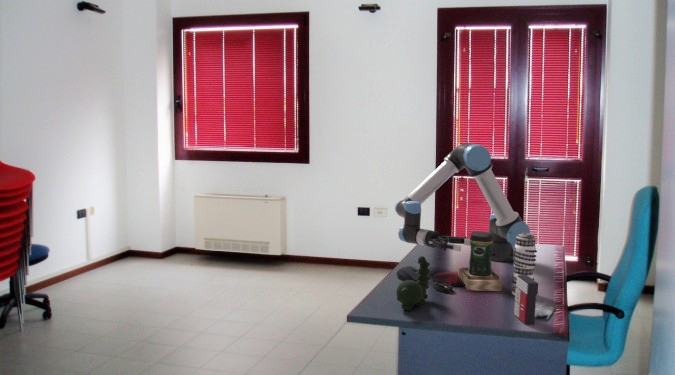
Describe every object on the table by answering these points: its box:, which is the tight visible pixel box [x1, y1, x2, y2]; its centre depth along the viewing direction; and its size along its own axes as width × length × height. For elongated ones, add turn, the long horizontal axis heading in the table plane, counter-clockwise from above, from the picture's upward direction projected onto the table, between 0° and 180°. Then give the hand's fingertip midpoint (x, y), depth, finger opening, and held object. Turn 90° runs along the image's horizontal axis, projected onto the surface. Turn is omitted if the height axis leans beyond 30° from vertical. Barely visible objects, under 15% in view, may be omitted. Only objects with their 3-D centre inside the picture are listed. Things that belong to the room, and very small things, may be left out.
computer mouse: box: [396, 265, 454, 294], centre depth 272 cm, size 10×32×6 cm, turn 38°
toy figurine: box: [396, 255, 431, 312], centre depth 241 cm, size 9×19×25 cm
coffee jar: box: [468, 230, 493, 276], centre depth 273 cm, size 10×8×19 cm
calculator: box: [513, 275, 539, 326], centre depth 228 cm, size 11×4×15 cm, turn 5°
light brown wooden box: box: [457, 267, 503, 292], centre depth 274 cm, size 14×20×5 cm
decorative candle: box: [511, 232, 538, 296], centre depth 259 cm, size 9×9×25 cm
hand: (469, 246), depth 276 cm, fingers open, 13 cm apart
